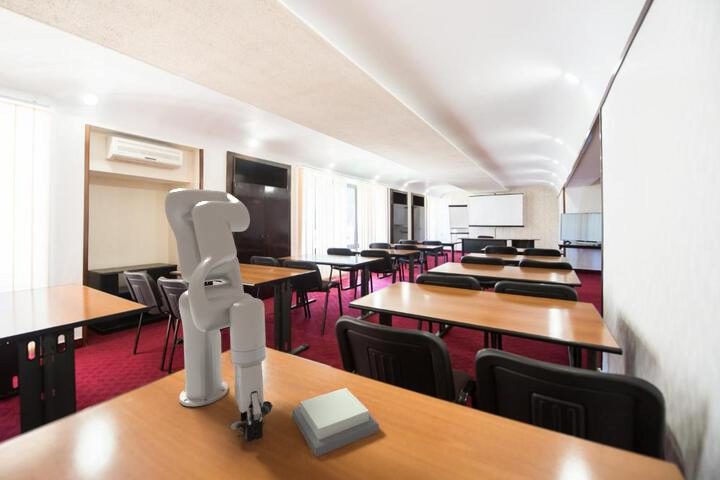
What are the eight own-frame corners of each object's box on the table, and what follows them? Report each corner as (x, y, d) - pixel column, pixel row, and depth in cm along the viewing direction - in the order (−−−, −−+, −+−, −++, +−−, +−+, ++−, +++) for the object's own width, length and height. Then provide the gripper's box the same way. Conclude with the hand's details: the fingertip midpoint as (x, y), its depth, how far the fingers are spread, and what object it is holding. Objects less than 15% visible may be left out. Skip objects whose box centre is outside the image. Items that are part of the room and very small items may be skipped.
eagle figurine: (266, 442, 67) (279, 410, 76) (246, 419, 66) (262, 389, 75) (240, 455, 69) (256, 423, 77) (221, 433, 68) (239, 403, 76)
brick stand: (292, 418, 78) (292, 399, 78) (347, 400, 86) (347, 382, 86) (315, 459, 64) (315, 436, 64) (378, 433, 72) (378, 413, 72)
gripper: (226, 344, 75) (228, 414, 75) (236, 372, 60) (240, 459, 60) (257, 338, 79) (259, 405, 79) (274, 363, 64) (277, 445, 64)
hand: (251, 428), depth 70 cm, fingers closed on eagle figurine, 7 cm apart
